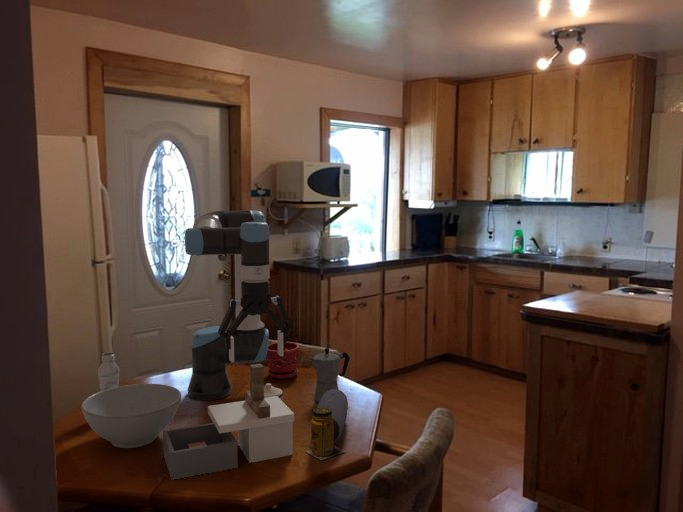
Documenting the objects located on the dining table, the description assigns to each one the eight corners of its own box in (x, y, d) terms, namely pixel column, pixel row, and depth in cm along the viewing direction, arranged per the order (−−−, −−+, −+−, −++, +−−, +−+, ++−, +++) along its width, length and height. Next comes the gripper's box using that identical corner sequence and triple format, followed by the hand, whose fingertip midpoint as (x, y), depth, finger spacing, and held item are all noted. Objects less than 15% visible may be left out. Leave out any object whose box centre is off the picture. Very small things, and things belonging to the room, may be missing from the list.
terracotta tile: (204, 441, 156) (204, 449, 157) (187, 444, 154) (188, 452, 155) (207, 447, 152) (207, 456, 152) (190, 450, 150) (190, 459, 151)
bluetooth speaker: (320, 417, 181) (319, 386, 180) (349, 418, 180) (349, 387, 179) (308, 448, 159) (308, 413, 158) (342, 450, 158) (342, 415, 157)
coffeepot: (315, 406, 190) (315, 354, 189) (304, 398, 199) (303, 347, 197) (355, 399, 198) (356, 348, 196) (342, 390, 206) (343, 342, 204)
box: (163, 455, 154) (163, 430, 154) (224, 445, 161) (224, 421, 160) (171, 480, 141) (170, 453, 140) (237, 468, 147) (237, 441, 147)
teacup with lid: (276, 427, 173) (275, 390, 172) (249, 424, 176) (248, 387, 175) (291, 413, 185) (291, 378, 184) (265, 410, 187) (265, 375, 186)
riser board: (208, 447, 159) (207, 406, 158) (277, 435, 167) (277, 395, 166) (220, 471, 146) (219, 425, 144) (294, 456, 154) (294, 413, 152)
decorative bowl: (140, 415, 183) (139, 378, 182) (201, 432, 170) (200, 393, 168) (62, 446, 160) (60, 404, 159) (126, 469, 147) (124, 423, 145)
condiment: (305, 451, 157) (304, 409, 156) (329, 443, 162) (329, 402, 161) (321, 461, 151) (320, 417, 150) (345, 452, 156) (345, 409, 155)
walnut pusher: (245, 401, 162) (244, 359, 161) (255, 399, 163) (255, 358, 162) (259, 418, 149) (258, 373, 148) (270, 416, 150) (269, 372, 149)
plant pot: (269, 370, 231) (269, 341, 230) (302, 371, 229) (301, 341, 228) (262, 380, 218) (261, 349, 217) (296, 381, 216) (296, 350, 215)
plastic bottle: (126, 413, 184) (124, 352, 182) (109, 420, 178) (107, 358, 176) (111, 410, 187) (109, 350, 185) (94, 417, 181) (92, 355, 179)
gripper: (211, 285, 144) (213, 367, 147) (304, 279, 154) (304, 356, 157) (205, 281, 151) (207, 359, 153) (295, 275, 161) (295, 349, 163)
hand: (256, 357), depth 155 cm, fingers open, 13 cm apart
